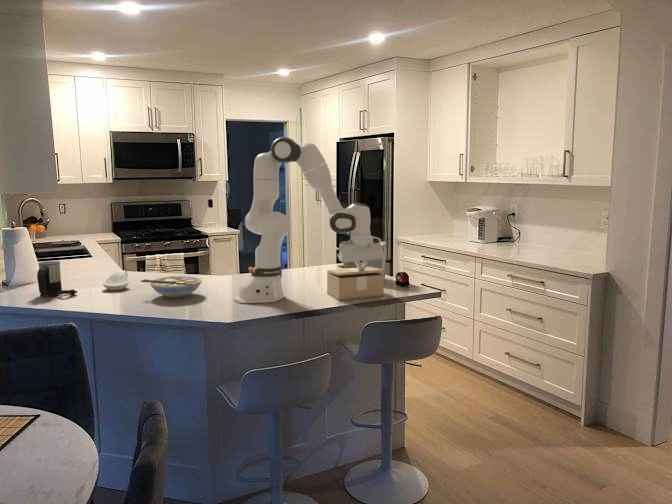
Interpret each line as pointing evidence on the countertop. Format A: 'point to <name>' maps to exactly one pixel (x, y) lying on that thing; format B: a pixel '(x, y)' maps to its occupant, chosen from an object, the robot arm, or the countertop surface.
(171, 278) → the ramen bowl
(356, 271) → the lid
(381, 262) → the hard drive box
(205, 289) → the countertop surface
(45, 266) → the milk frother
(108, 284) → the spoon rest
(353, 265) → the squeeze bottle
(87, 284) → the countertop surface
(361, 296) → the cardboard box
